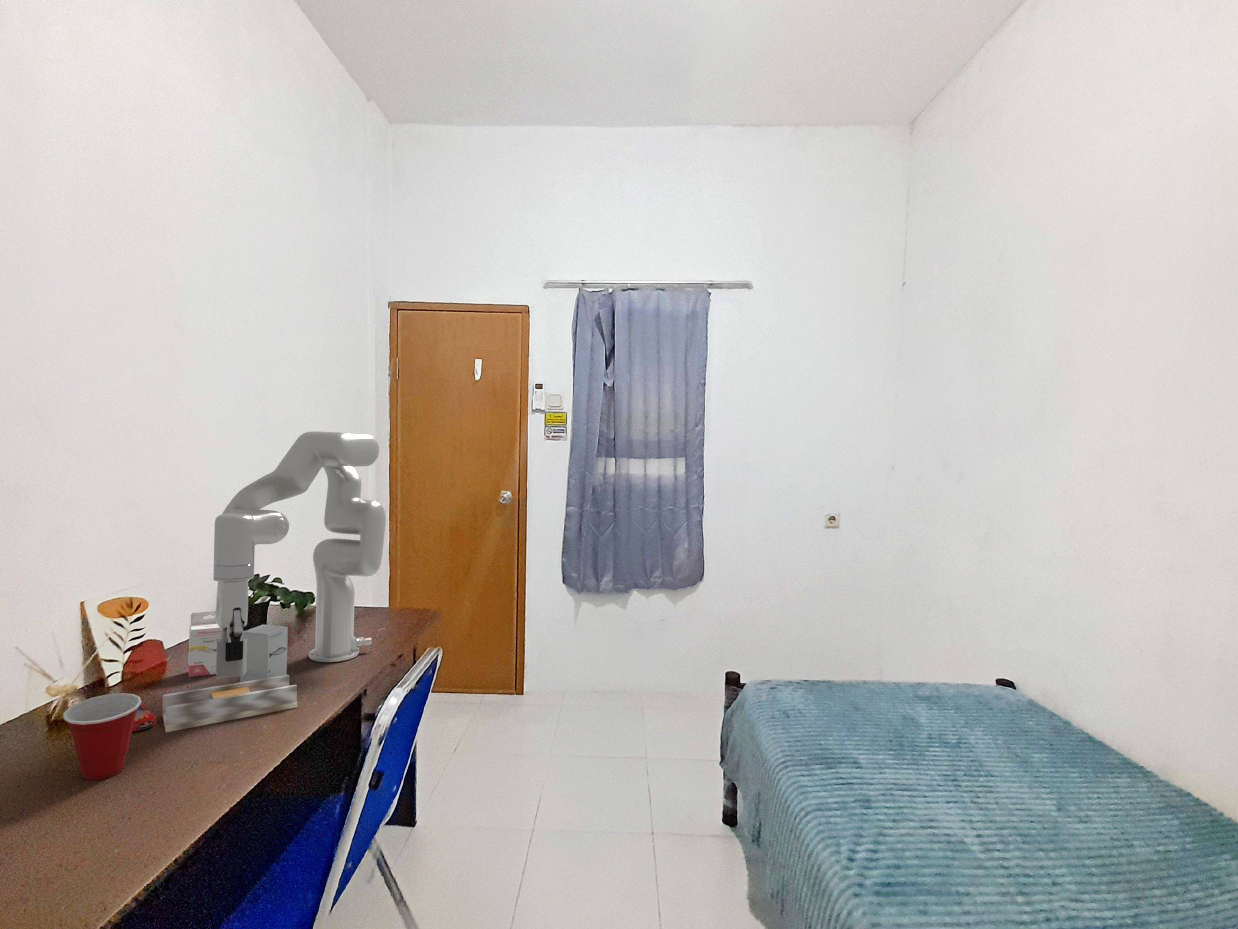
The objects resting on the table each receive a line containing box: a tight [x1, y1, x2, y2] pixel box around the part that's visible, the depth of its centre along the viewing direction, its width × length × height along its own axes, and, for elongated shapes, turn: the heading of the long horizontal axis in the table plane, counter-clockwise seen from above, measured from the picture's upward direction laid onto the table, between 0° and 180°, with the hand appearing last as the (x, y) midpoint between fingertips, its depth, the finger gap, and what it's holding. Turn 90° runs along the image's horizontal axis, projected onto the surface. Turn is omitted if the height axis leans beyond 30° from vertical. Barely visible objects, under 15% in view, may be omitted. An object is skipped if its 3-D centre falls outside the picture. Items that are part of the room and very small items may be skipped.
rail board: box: [161, 674, 298, 733], centre depth 146 cm, size 24×10×4 cm, turn 127°
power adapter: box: [215, 628, 247, 678], centre depth 145 cm, size 3×5×12 cm, turn 96°
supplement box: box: [239, 624, 289, 682], centre depth 164 cm, size 7×7×13 cm
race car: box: [132, 704, 157, 733], centre depth 138 cm, size 13×5×4 cm, turn 60°
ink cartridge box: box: [187, 610, 222, 678], centre depth 168 cm, size 9×5×15 cm, turn 123°
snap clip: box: [211, 687, 250, 699], centre depth 146 cm, size 7×6×1 cm
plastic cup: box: [62, 692, 142, 781], centre depth 118 cm, size 11×11×12 cm
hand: (232, 655), depth 145 cm, fingers closed on power adapter, 4 cm apart
